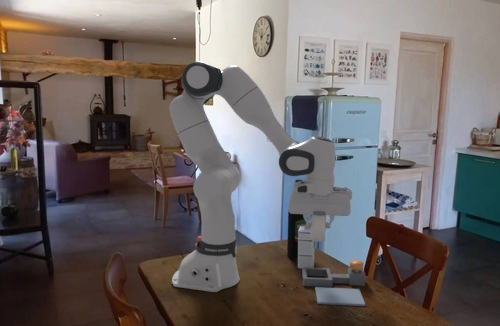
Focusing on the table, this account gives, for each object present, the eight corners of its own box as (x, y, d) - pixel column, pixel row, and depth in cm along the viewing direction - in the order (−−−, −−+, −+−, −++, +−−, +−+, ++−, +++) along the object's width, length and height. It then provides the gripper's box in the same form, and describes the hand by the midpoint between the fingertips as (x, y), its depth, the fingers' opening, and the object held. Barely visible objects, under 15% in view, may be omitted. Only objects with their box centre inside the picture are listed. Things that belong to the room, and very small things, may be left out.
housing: (303, 285, 137) (303, 274, 136) (302, 274, 146) (302, 263, 145) (366, 288, 135) (366, 277, 134) (360, 276, 144) (361, 265, 144)
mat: (317, 303, 125) (317, 301, 125) (315, 288, 135) (315, 287, 134) (365, 306, 124) (365, 304, 124) (359, 290, 133) (359, 289, 133)
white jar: (309, 241, 136) (311, 212, 135) (308, 236, 142) (310, 207, 140) (326, 242, 136) (328, 212, 134) (324, 237, 141) (326, 208, 140)
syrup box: (313, 269, 150) (314, 230, 147) (297, 268, 151) (298, 229, 149) (314, 263, 155) (315, 226, 153) (298, 262, 156) (299, 225, 154)
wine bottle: (296, 250, 168) (298, 177, 164) (310, 256, 163) (313, 180, 158) (283, 254, 164) (284, 179, 159) (296, 260, 158) (299, 183, 153)
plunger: (350, 283, 138) (351, 264, 137) (348, 277, 142) (349, 259, 141) (363, 283, 137) (364, 265, 136) (361, 278, 142) (362, 259, 141)
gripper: (350, 185, 138) (348, 225, 140) (288, 183, 140) (287, 223, 142) (354, 189, 132) (351, 231, 134) (289, 187, 134) (287, 228, 136)
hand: (318, 227), depth 138 cm, fingers closed on white jar, 5 cm apart
